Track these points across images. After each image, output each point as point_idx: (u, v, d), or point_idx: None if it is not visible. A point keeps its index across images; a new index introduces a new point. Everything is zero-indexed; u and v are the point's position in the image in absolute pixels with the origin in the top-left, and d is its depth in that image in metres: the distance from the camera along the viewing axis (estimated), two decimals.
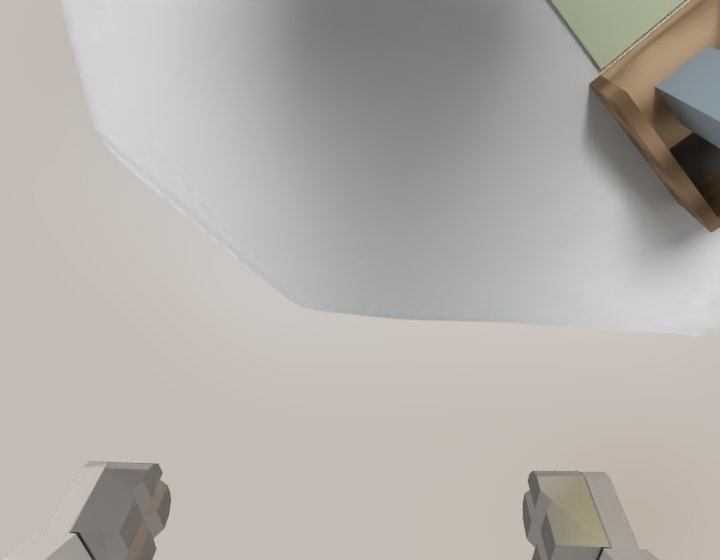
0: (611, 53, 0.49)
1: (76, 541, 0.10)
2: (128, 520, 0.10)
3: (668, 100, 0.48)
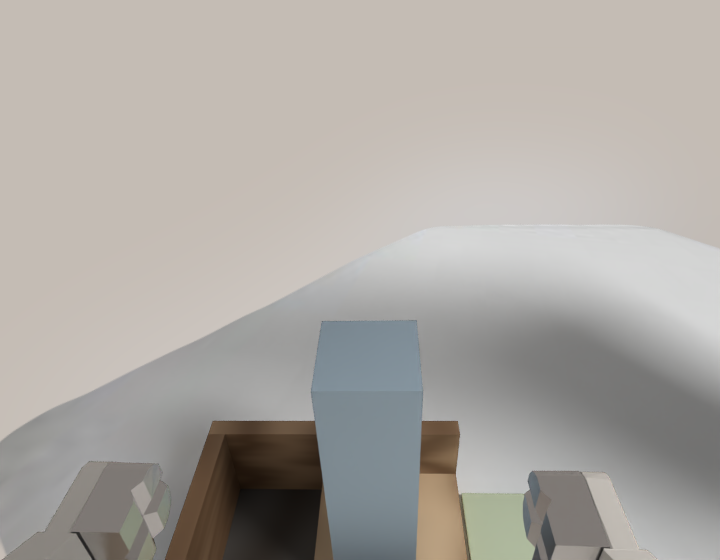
0: (472, 510, 0.38)
1: (76, 541, 0.10)
2: (128, 520, 0.10)
3: None
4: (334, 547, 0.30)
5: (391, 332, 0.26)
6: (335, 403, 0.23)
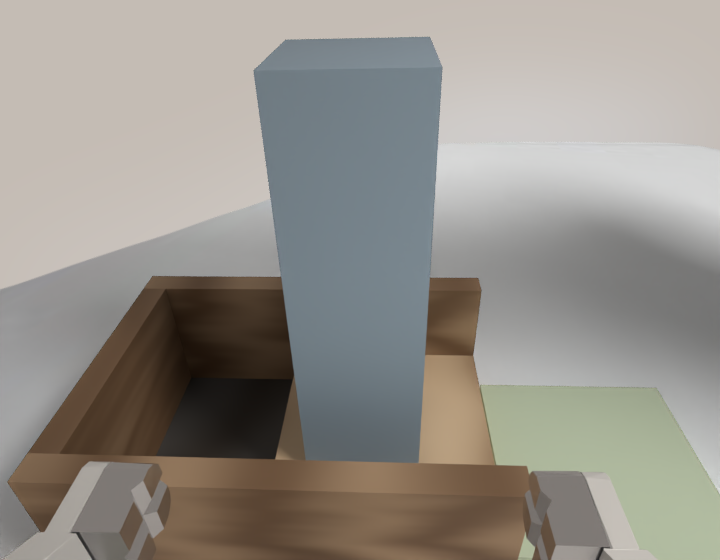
0: (494, 403, 0.29)
1: (76, 541, 0.10)
2: (128, 520, 0.10)
3: None
4: (302, 410, 0.21)
5: (391, 42, 0.17)
6: (294, 101, 0.14)
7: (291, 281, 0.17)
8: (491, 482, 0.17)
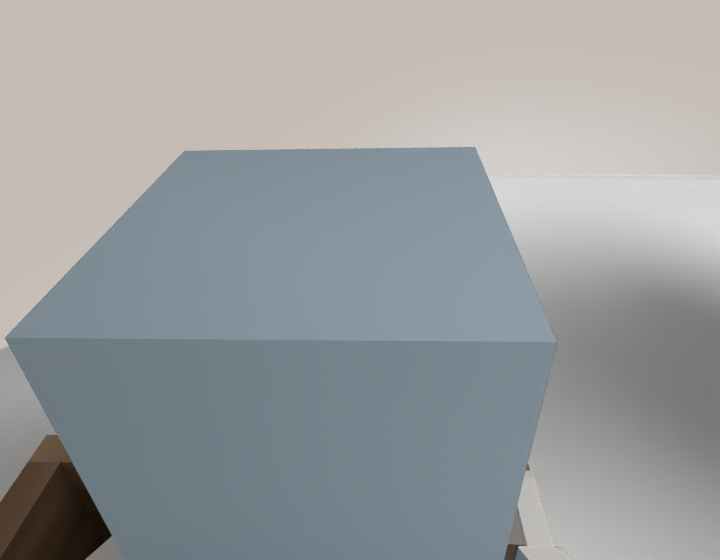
0: None
1: None
2: None
3: None
4: None
5: (397, 169, 0.08)
6: (136, 400, 0.05)
7: None
8: None
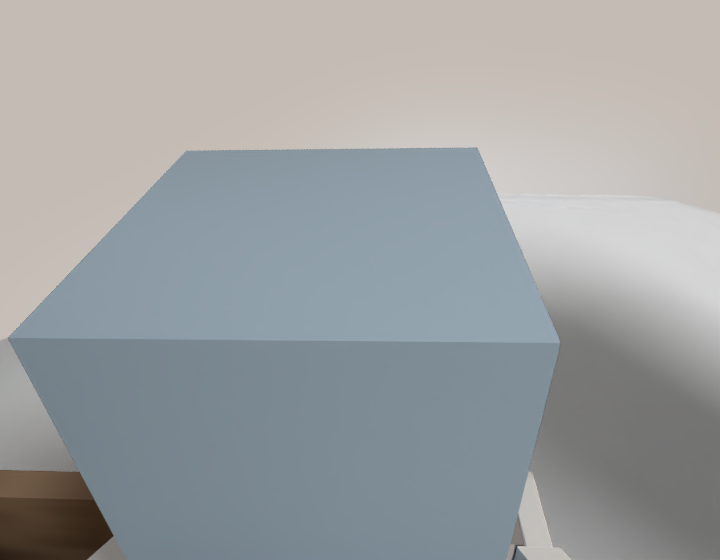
0: None
1: None
2: None
3: None
4: None
5: (399, 169, 0.08)
6: (139, 401, 0.05)
7: None
8: None
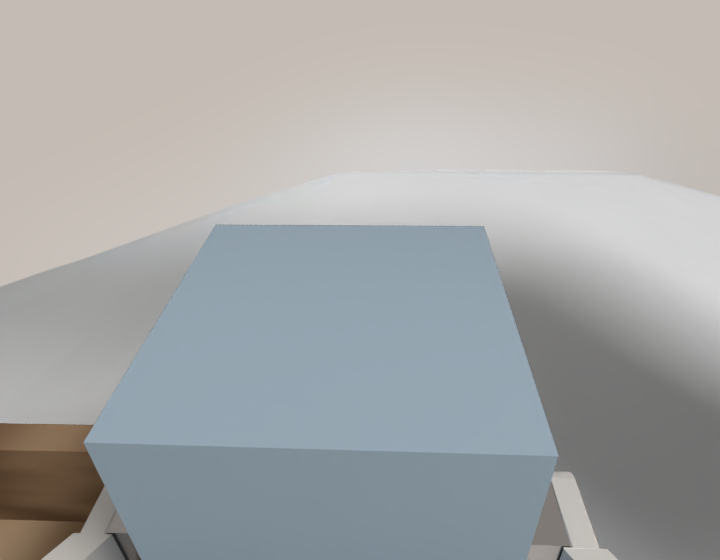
0: None
1: (112, 542, 0.10)
2: None
3: None
4: None
5: (413, 252, 0.09)
6: (192, 490, 0.06)
7: None
8: None
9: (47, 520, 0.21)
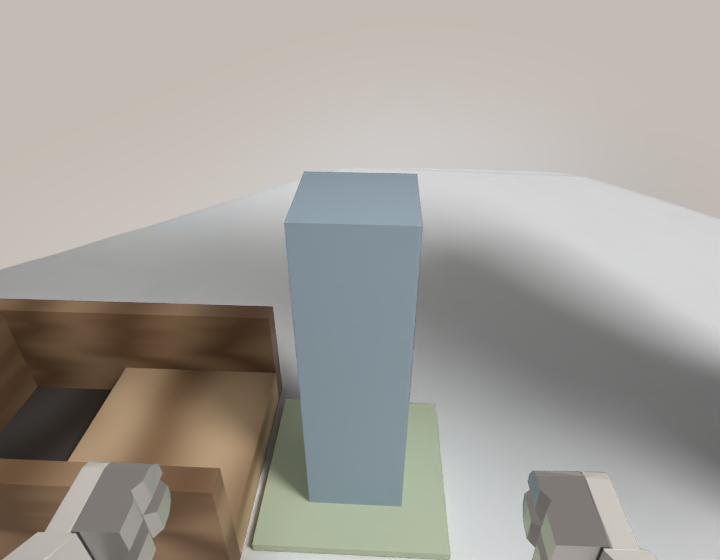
0: (291, 415, 0.33)
1: (76, 541, 0.10)
2: (128, 520, 0.10)
3: None
4: (308, 456, 0.26)
5: (386, 181, 0.22)
6: (313, 242, 0.19)
7: (304, 362, 0.22)
8: (185, 480, 0.22)
9: (166, 369, 0.34)
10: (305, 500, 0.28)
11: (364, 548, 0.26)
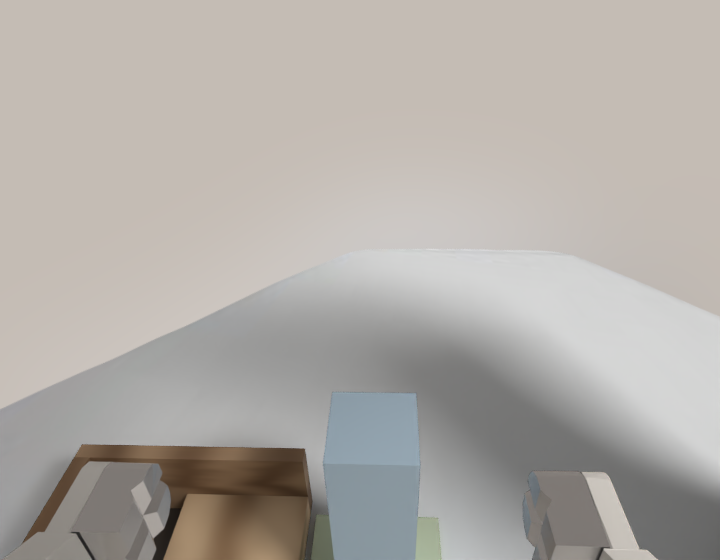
0: (321, 531, 0.41)
1: (76, 541, 0.10)
2: (128, 520, 0.10)
3: None
4: None
5: (393, 405, 0.29)
6: (343, 473, 0.27)
7: (337, 536, 0.30)
8: None
9: (219, 494, 0.42)
10: None
11: None
